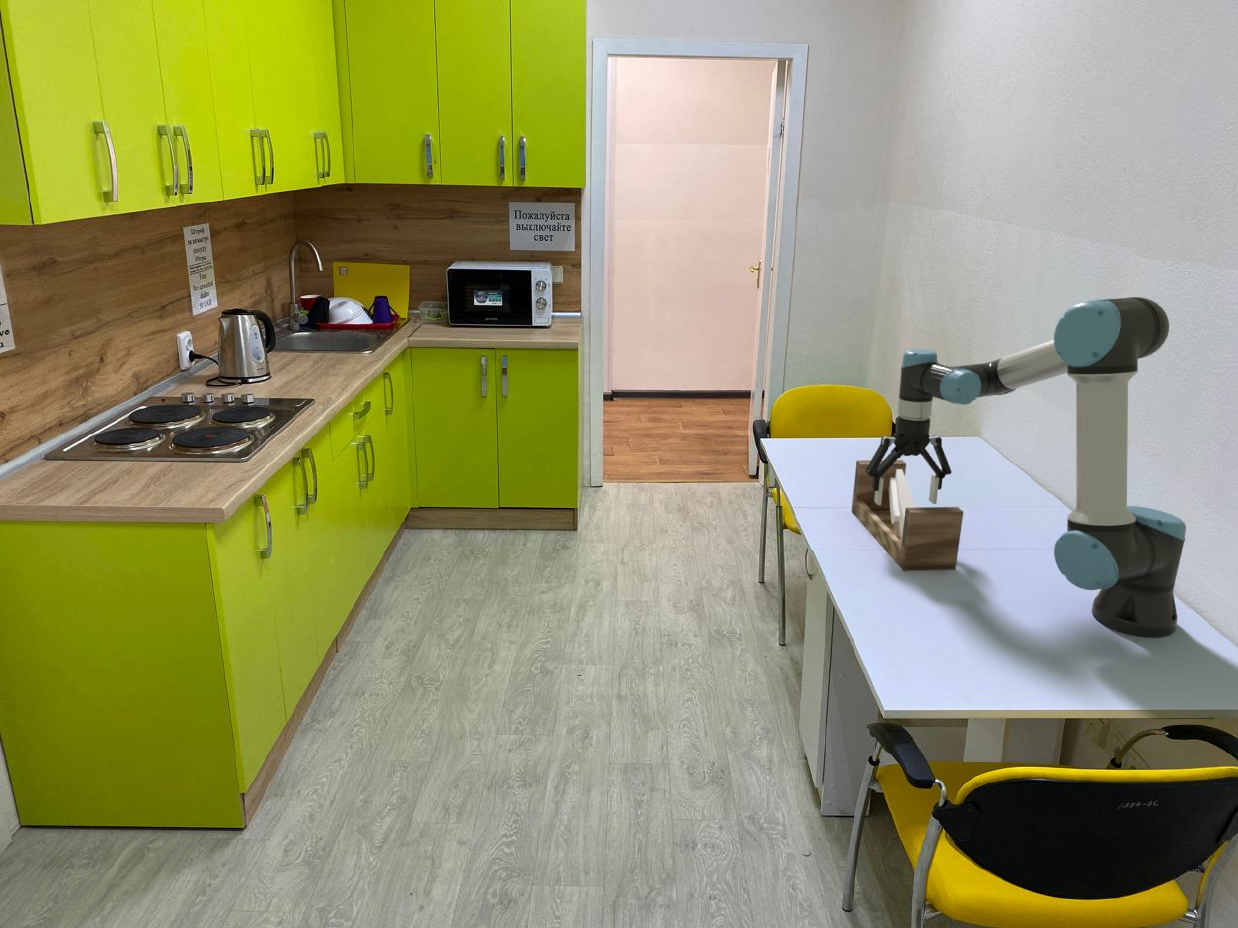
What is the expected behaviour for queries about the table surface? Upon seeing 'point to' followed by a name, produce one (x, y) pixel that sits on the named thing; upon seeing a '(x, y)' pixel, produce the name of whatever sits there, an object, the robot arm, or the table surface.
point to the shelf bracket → (899, 501)
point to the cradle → (908, 525)
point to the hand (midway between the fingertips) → (905, 502)
